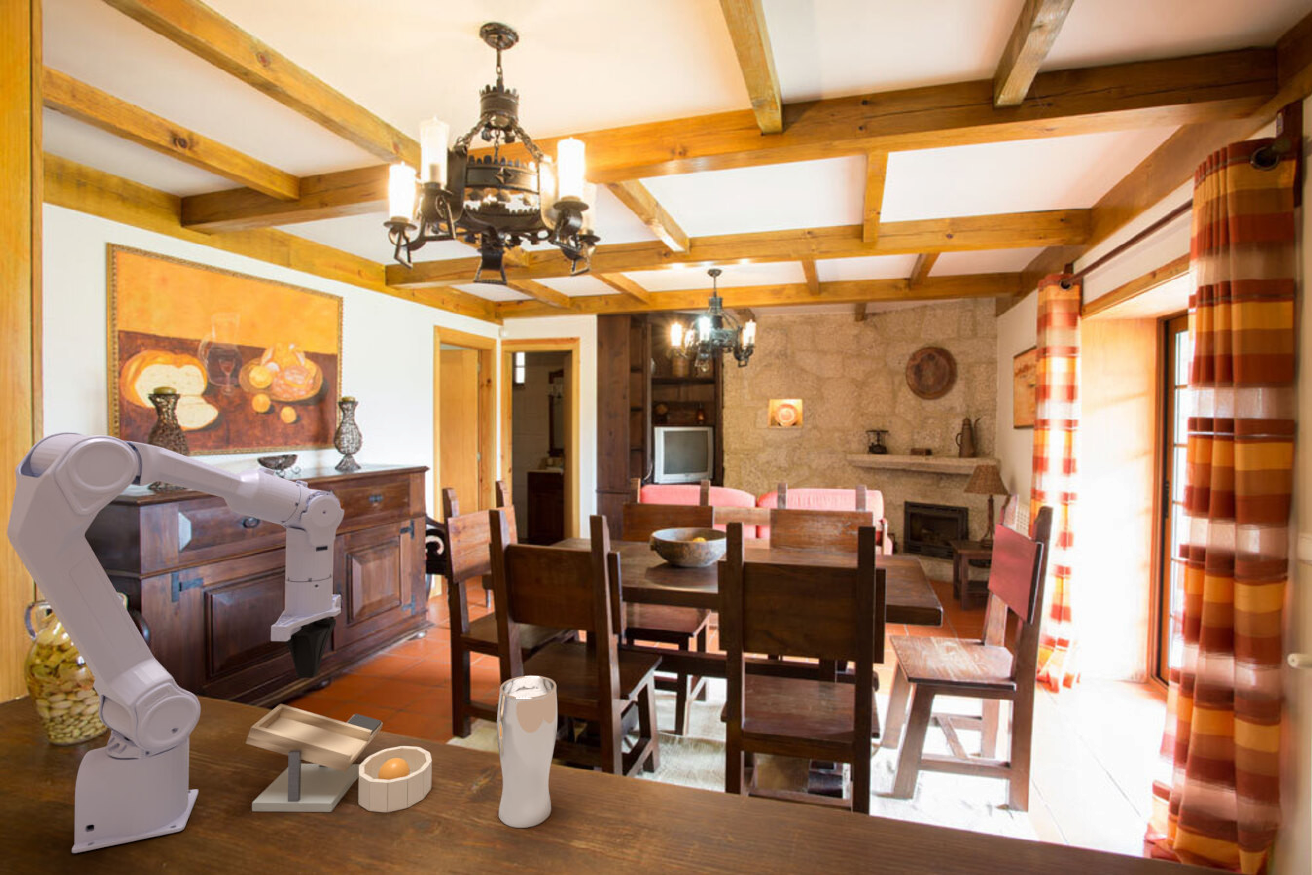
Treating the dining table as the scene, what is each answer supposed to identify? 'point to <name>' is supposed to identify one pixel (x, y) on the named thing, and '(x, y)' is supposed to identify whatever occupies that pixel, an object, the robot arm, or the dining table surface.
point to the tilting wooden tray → (314, 736)
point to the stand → (306, 787)
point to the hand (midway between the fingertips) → (307, 675)
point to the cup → (394, 780)
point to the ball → (394, 769)
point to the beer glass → (526, 748)
